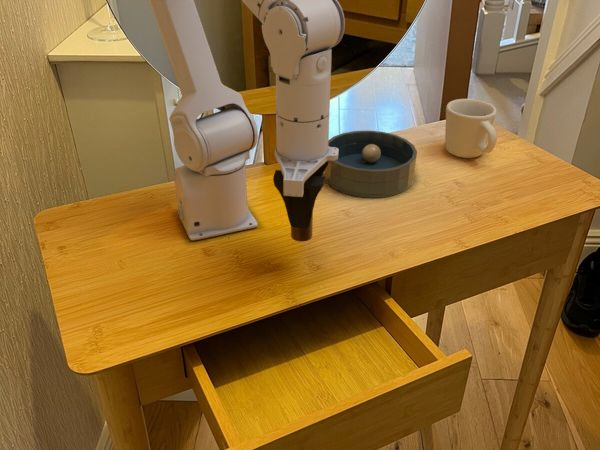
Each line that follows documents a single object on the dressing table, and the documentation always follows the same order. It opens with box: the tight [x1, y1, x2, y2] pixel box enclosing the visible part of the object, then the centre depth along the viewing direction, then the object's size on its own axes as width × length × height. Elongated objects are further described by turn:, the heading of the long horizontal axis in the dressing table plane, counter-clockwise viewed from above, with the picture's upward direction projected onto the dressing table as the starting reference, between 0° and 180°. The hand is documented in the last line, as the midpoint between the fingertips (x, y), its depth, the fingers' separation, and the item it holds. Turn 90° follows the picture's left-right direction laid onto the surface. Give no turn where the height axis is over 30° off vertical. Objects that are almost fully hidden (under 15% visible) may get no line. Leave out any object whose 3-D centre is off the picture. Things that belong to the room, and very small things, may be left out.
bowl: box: [322, 130, 418, 199], centre depth 97 cm, size 14×14×4 cm
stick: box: [290, 175, 314, 243], centre depth 73 cm, size 3×3×8 cm
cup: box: [444, 98, 498, 159], centre depth 102 cm, size 11×8×8 cm
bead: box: [362, 144, 381, 163], centre depth 100 cm, size 3×3×3 cm
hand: (301, 219), depth 74 cm, fingers closed on stick, 2 cm apart
